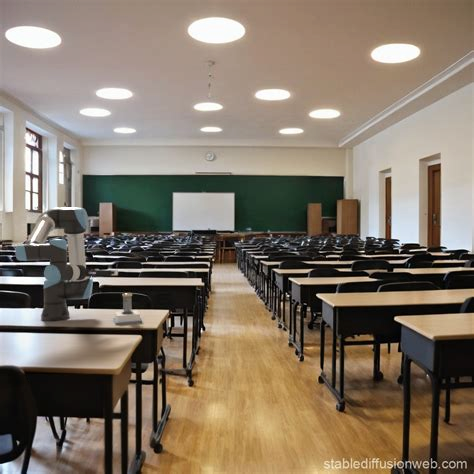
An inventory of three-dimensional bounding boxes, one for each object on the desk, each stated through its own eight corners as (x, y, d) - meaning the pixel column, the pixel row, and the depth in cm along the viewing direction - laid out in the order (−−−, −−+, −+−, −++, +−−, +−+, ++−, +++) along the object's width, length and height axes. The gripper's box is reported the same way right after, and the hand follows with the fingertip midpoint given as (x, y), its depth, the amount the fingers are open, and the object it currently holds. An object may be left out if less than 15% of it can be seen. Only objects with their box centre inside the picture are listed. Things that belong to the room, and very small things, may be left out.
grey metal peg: (122, 318, 244) (121, 293, 243) (131, 317, 245) (131, 293, 245) (123, 320, 239) (122, 295, 238) (133, 319, 240) (132, 294, 240)
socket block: (113, 319, 246) (113, 311, 246) (138, 317, 251) (138, 309, 251) (115, 324, 233) (115, 316, 233) (142, 322, 238) (142, 314, 238)
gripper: (57, 279, 220) (90, 278, 238) (93, 281, 208) (125, 280, 226) (58, 264, 220) (91, 264, 239) (93, 265, 208) (125, 265, 227)
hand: (107, 272), depth 233 cm, fingers open, 13 cm apart
